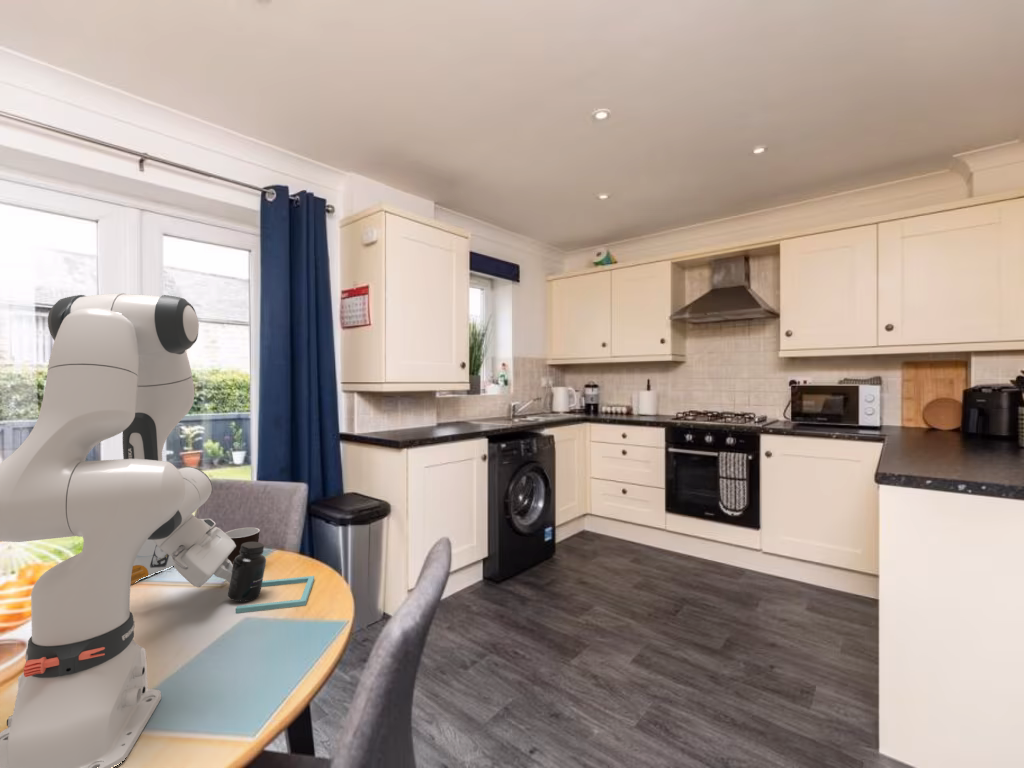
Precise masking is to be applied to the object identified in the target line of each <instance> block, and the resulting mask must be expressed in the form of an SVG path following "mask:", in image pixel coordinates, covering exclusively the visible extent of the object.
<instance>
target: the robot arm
mask: <svg viewBox="0 0 1024 768" xmlns="http://www.w3.org/2000/svg"><path fill="white" fill-rule="evenodd" d="M199 324H200V323H199V319H198V316H197V312H196V310H195V308H194V306H193V305H192V304H191V303H190V302H188V300H187V299H185V298H183V297H180V296H176V295H175V296H174V295H168V294H163V295H161V296H160V295H159V296H158V295H150V294H131V293H130V294H129V293H128V294H127V293H124V292H122V293H120V292H119V293H104V294H103V293H102V294H94V295H86V294H79V295H78V294H77V295H72V296H65V297H64V298H60V299H59V300H58V301H57V302H55V303H54V305H53V306H52V307H51V308H50V310H49V311H48V315H47V327H48V331H49V334H50V336H51V338H52V339H53V341H54V342H53V344H52V347H51V352H50V356H49V360H48V366H47V373H46V381H45V386H44V391H43V396H42V401H41V406H40V410H39V414H38V417H37V420H36V421H35V424H34V426H33V428H32V429H31V431H30V433H29V434H28V436H27V437H26V438H25V439H24V441H23V442H22V443H21V444H20V445H19V447H18V448H16V449H15V450H14V451H13V452H12V453H11V454H9V456H8V457H5V459H4V460H2V461H1V462H0V542H7V543H11V542H12V543H25V542H33V541H41V540H42V541H43V540H51V539H53V540H54V539H62V538H72V537H77V538H78V537H80V538H81V537H82V538H83V539H82V541H83V543H82V550H81V552H78V553H77V554H75V555H73V556H70V557H68V558H67V559H65V560H63V561H61V562H59V563H57V564H56V565H54V566H53V567H51V568H49V569H48V570H47V571H44V572H43V574H42V575H40V576H39V578H38V579H37V581H36V582H35V583H34V586H33V587H32V590H31V593H30V594H31V596H30V597H31V598H30V601H31V602H30V605H31V606H30V608H31V614H30V615H31V618H30V619H31V637H29V639H28V640H27V648H26V650H25V664H24V667H23V672H22V673H21V675H19V676H18V677H17V683H18V688H17V689H18V690H17V692H16V693H17V694H16V699H15V703H14V708H13V713H12V715H10V716H8V718H7V719H6V726H7V728H5V729H3V730H2V731H1V732H0V768H97V767H98V768H111V767H114V765H117V764H119V763H121V762H122V761H124V760H125V761H126V759H127V758H128V756H129V755H130V753H131V751H132V749H133V747H134V746H135V744H136V743H137V740H138V739H139V737H140V735H141V734H142V732H143V730H144V728H145V727H146V726H147V723H148V722H149V720H150V718H151V717H152V714H154V712H155V711H156V708H157V706H158V704H159V703H160V701H161V699H162V692H161V690H160V689H157V688H156V689H155V688H149V685H148V684H149V683H148V666H147V663H148V662H147V652H146V649H145V648H144V647H143V646H141V645H139V644H138V643H136V642H135V641H134V637H135V631H134V630H135V628H136V627H135V620H134V614H133V612H132V611H131V608H130V607H131V600H130V599H131V597H130V596H131V585H132V584H131V575H132V568H133V564H134V561H135V559H136V556H137V554H138V552H139V550H140V549H141V547H142V546H143V544H144V543H145V541H146V540H147V539H148V540H153V541H154V542H155V543H156V545H157V546H158V547H159V548H160V549H162V550H163V551H164V552H165V553H167V554H168V555H169V556H170V557H172V559H173V562H174V563H175V564H174V568H175V570H176V571H177V572H178V573H179V574H180V575H181V576H182V577H183V578H184V579H185V580H186V581H187V582H188V583H190V584H191V585H192V586H193V587H197V588H201V587H202V586H203V585H205V583H207V582H208V581H209V580H210V579H211V578H212V577H213V575H214V576H215V577H217V578H219V579H223V580H225V581H227V582H228V583H229V584H230V581H231V576H232V567H233V564H232V563H231V561H230V560H229V559H227V557H228V556H229V555H230V554H231V552H232V551H233V550H234V549H235V547H236V545H235V543H234V541H233V540H232V539H231V538H230V537H229V536H228V535H227V534H226V532H225V531H223V530H222V529H221V528H220V527H217V526H216V522H215V521H214V520H213V519H212V518H198V517H196V516H195V515H194V513H195V512H196V511H197V510H198V509H199V508H201V506H203V505H204V504H205V503H206V502H207V501H208V499H209V498H210V497H211V495H212V493H213V484H212V481H211V479H210V477H209V476H208V475H207V474H206V473H205V472H204V471H202V470H200V468H199V469H198V468H196V467H191V466H184V467H181V468H177V467H176V466H175V465H174V464H173V463H172V462H169V461H163V451H164V450H163V449H164V445H165V443H166V442H167V439H168V437H169V436H170V434H171V433H172V431H173V430H174V429H175V428H176V426H177V425H178V424H179V423H180V421H181V420H183V418H185V417H186V415H188V413H189V412H190V411H191V408H192V407H193V406H194V405H193V404H194V401H195V385H194V380H193V379H194V378H193V374H192V368H191V364H190V361H189V358H188V354H187V350H189V349H190V348H192V346H193V345H194V344H196V342H197V340H198V337H199V329H200V327H199ZM121 433H122V457H123V459H122V458H121V459H104V460H88V461H87V459H86V458H87V456H88V455H89V453H90V452H91V451H92V450H93V448H94V447H96V446H98V444H100V443H101V442H103V441H105V440H108V439H110V438H113V437H115V436H117V435H119V434H121ZM126 757H127V758H126ZM125 758H126V759H125ZM125 761H124V762H125ZM121 764H122V763H121Z"/></svg>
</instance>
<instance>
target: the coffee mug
mask: <svg viewBox="0 0 1024 768" xmlns="http://www.w3.org/2000/svg"><path fill="white" fill-rule="evenodd" d="M260 531H261V529H259V528H258V527H241V528H235V529H231V530H228V531H225V533H226V534H227V535H228V536H229V537H230V538H231V539H232V540H233V541H234V543H235V545H236V547H235V549H234V550H233V551H232V552H231V554H230V555H229V556H228V557H227V559H229V560H230V561H231V563H232V564H233V562H234V559H235V558H236V557H237V556H238V555H240V550H241V545H242V544H243V543H246V542H259V540H260V533H261V532H260Z"/></svg>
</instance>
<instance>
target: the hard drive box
mask: <svg viewBox="0 0 1024 768" xmlns="http://www.w3.org/2000/svg"><path fill="white" fill-rule="evenodd" d="M174 564H175V563H174V562H173V559H172V557H170V556H169V555H168V554H167V553H165V552H164V551H163V550H162V549H160V548H159V547H158V546H157V545H156V543H155V542H154V541H153V540H148V539H147V540H146V541H145V543H144V544H143V546H142V547H141V549H140V550H139V552H138V554H137V556H136V559H135V561H134V564H133V568H132V575H131V585H134V583H135V582H136V581H138V580H139V579H141V578H143V577H146V576H148V575H151V574H153V573H156V572H158V571H161V570H164V569H166V568H169V567H171V566H174ZM174 567H175V566H174ZM135 584H136V583H135Z"/></svg>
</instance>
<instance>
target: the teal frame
mask: <svg viewBox="0 0 1024 768" xmlns="http://www.w3.org/2000/svg"><path fill="white" fill-rule="evenodd" d="M314 581H315V575H308V576H307V575H306V576H298V577H289V578H280V579H270V580H269V579H267V580H263V581H262V587H261V588H263V587H264V588H265V587H272V586H273V587H275V586H283V585H285V586H286V585H294V584H303V583H304V584H305V583H306V584H305V587H304V588H303V592H302V594H301V597H300V599H292V600H282V601H273V602H263V603H256V604H255V603H254V604H246V605H237V606H236V608H235V614H241V613H250V612H249V611H251V612H258V611H266V610H267V611H268V610H277V609H285V608H286V609H287V608H293V607H294V608H295V607H305V606H306V605H307V602H308V599H309V596H310V593H311V590H312V588H313V585H314Z"/></svg>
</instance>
